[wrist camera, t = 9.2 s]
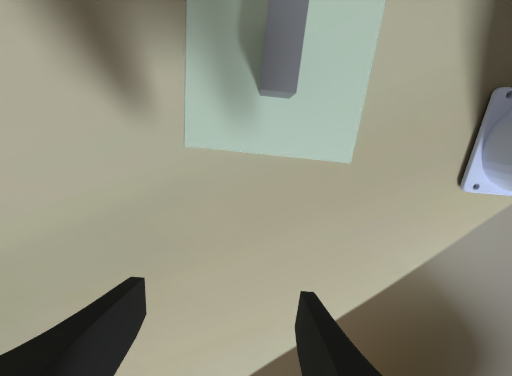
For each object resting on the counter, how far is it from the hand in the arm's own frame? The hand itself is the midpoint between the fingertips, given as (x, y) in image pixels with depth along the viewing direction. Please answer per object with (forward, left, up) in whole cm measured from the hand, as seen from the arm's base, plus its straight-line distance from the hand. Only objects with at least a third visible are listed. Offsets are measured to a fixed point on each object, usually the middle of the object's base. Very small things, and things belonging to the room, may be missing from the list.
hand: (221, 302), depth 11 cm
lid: (-2, -12, -11) cm, 17 cm away
